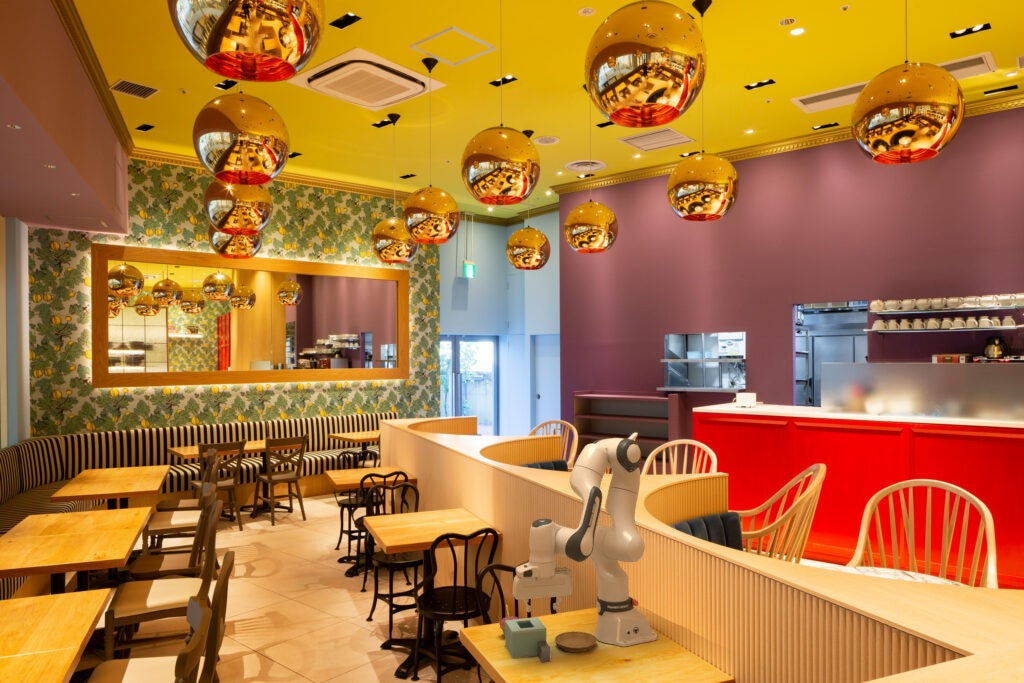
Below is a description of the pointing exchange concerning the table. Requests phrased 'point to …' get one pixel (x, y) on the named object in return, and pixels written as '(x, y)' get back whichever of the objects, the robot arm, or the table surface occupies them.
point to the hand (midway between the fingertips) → (542, 610)
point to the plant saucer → (575, 641)
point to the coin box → (524, 636)
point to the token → (543, 651)
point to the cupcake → (502, 622)
